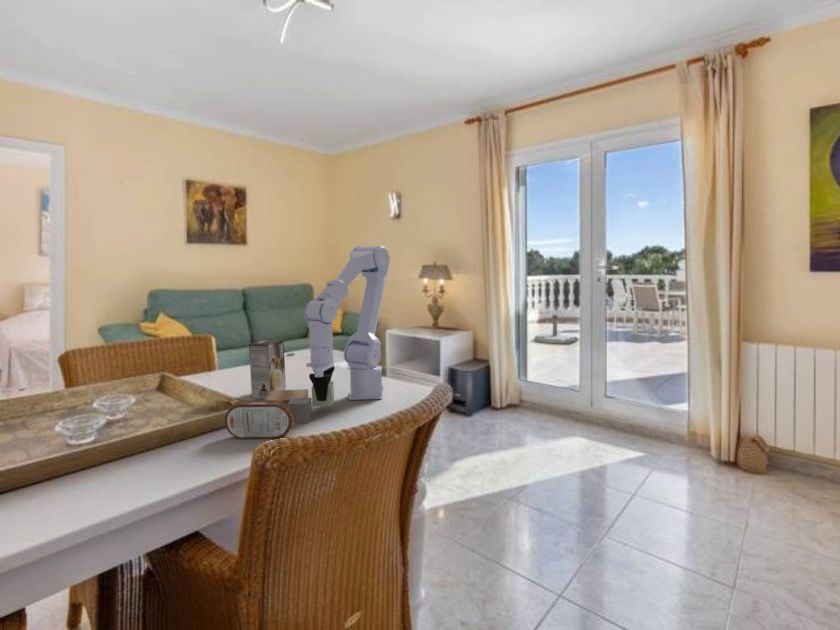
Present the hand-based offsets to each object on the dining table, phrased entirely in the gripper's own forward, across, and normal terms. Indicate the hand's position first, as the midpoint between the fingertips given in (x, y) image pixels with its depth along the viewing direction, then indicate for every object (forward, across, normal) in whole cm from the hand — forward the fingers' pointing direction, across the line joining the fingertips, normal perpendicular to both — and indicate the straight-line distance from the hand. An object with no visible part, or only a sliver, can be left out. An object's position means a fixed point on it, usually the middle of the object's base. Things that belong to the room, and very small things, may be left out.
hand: (323, 397), depth 120 cm
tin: (+4, +17, -12) cm, 21 cm away
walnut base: (+4, -4, -10) cm, 12 cm away
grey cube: (+4, +6, -5) cm, 9 cm away
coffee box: (+4, -18, -18) cm, 26 cm away
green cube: (+2, 0, 0) cm, 2 cm away
